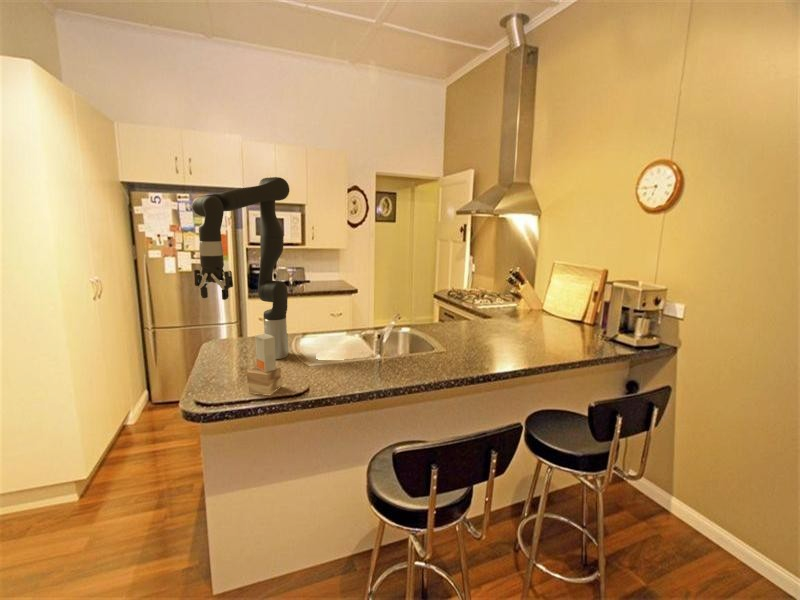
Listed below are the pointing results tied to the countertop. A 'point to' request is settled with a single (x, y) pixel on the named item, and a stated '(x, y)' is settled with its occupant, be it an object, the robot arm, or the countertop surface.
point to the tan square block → (263, 376)
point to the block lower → (264, 387)
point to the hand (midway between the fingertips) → (214, 298)
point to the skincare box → (265, 352)
